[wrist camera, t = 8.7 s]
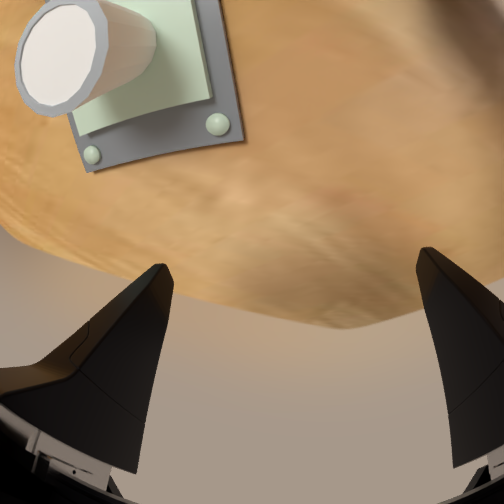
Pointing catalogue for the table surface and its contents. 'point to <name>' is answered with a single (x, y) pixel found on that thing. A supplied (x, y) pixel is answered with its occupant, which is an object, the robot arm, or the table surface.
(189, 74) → the baseplate
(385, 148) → the table surface
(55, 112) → the shot glass
